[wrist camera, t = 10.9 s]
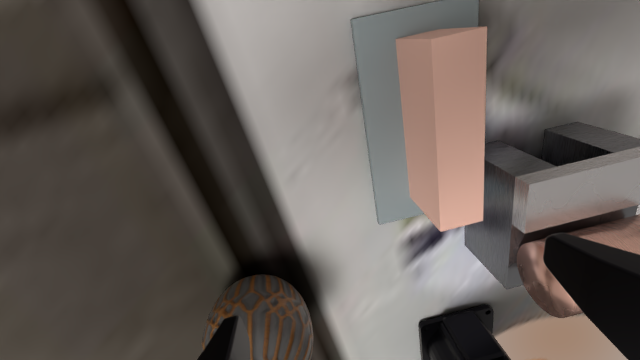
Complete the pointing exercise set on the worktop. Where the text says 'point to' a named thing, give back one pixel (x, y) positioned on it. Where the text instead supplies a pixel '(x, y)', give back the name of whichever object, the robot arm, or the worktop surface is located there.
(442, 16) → the mat
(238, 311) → the vase
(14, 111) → the worktop surface
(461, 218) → the salmon pink rectangular block
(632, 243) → the dispenser
